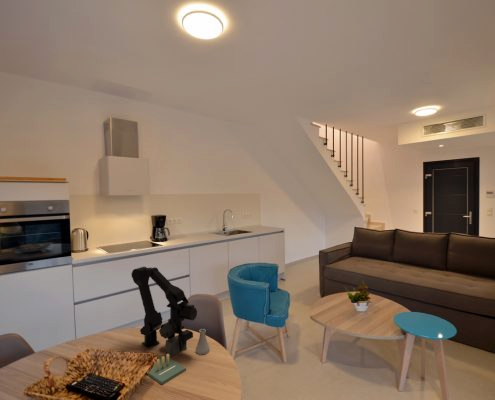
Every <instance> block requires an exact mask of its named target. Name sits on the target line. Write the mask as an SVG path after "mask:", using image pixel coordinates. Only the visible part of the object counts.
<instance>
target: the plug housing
mask: <svg viewBox="0 0 495 400" xmlns="http://www.w3.org/2000/svg"><path fill="white" fill-rule="evenodd" d="M178 335H179V334H177V335H175V337H173V338H171V339H168V338H167V339H166V340H165V355H167V354H169V357H173V356H175V355H177V354H179V353H181V352H183V351H185V350H186V349H187V347H188V346H187V342H188V341H187V342H186V344H185V346H184V348H183V350H182V351H181V352H180V348H179V341H178V340H177V339H178Z"/></svg>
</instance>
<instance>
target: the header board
mask: <svg viewBox="0 0 495 400" xmlns="http://www.w3.org/2000/svg"><path fill="white" fill-rule="evenodd" d="M157 358H158V359H157ZM157 358H156V359H157V362H156V364H155V365H154V367H153V368H152V369H151V371H150V372H149V373H148V375H147V376H149V377H150V378H152V379H153V380H154V381H156V382H157V383H159V384H160V385H164V384H166V383H167V382H169V381H171V380H172V379H174V378H176V377H177V376H179V375H180V374H182V373H184V372H186V371H187V368H186V366H184V365H182V364H180V363H179V362H178V361H175V360H173V359H172V358H170V355H169V354H165V355H162V356H159V357H157Z"/></svg>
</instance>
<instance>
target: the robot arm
mask: <svg viewBox="0 0 495 400" xmlns="http://www.w3.org/2000/svg"><path fill="white" fill-rule="evenodd" d="M130 274H131V278H132V280H133V283H135V285H136V286H138V290H139V293H140V298H141V302H142V305H143V309H144V314H145V315H144V319H143V326H142V327H141V328H140V329H139V331H140V334H141V335H142V336H143V337H144V339H143V340H144V341H142V342H141V345H143V346H144V347H146V348H151V347H154V346H155V345H157V344H160V341H159V340H158V336H157V334H158V333H157V332H159V335H160V337H161V338H163V339H166V340H168V339H171V338H173V337H175V336H176V334H177V335H178V339H177V340H178V341H179V348H180V352H179V353H181V352H183V351H184V350H183V348H184V346H185V344H186V342H188V341H189V340H191V339H193V338H194V332H193V331H191V330H190V329H185V326H184V325H183V321H185V320H189V321H195V320H196V318H197V314H198V310H197V308H196V307H195V305H194V304H189V303H190V302H189V300H188V299H187V296H186V294H185V292H184V290H183V289H182V288H180V287H179V286H176V285H173V284H172V283H171V282H170V281H169V279H168V278H166V277H165V276H164V274H162V273H161V271H160V270H159V269H158V267H156V266H154V267H147V266H141V267H138V268H135V269H133V270H132V272H131V273H130ZM150 278H151V280H152V281H153V282H154V283H155V284H156V286H158V287H159V288H160V289H161V290H162V291H163V292H164V294H165V296H164V297H165V298H166V300H167V302H168V303H167V304H166V307H167V308H170V309H169V311H170V312H169V313H170V314H169V315H170V317H169V318H168V320H167V322H164V323H163V317H162V313H161V312H160V311H159V312H158V311H157V310H156V308H155V304H154V299H153V296H152V292H151V289H150V285H149V281H150ZM184 329H185V330H184ZM182 350H183V351H182Z"/></svg>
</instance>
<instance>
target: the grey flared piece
mask: <svg viewBox="0 0 495 400" xmlns="http://www.w3.org/2000/svg"><path fill="white" fill-rule="evenodd" d="M198 331H199V338H198V341H197V345H196V347H195V352H194V353H195V354H197V355H207V354H208V353H209V352H210V351H211V350H210V349H211V347H210V345H209V342H208V339H207V337H206V335H207V334H206V331H207V330H206V329H205V328H200V329H199V330H198Z"/></svg>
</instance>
